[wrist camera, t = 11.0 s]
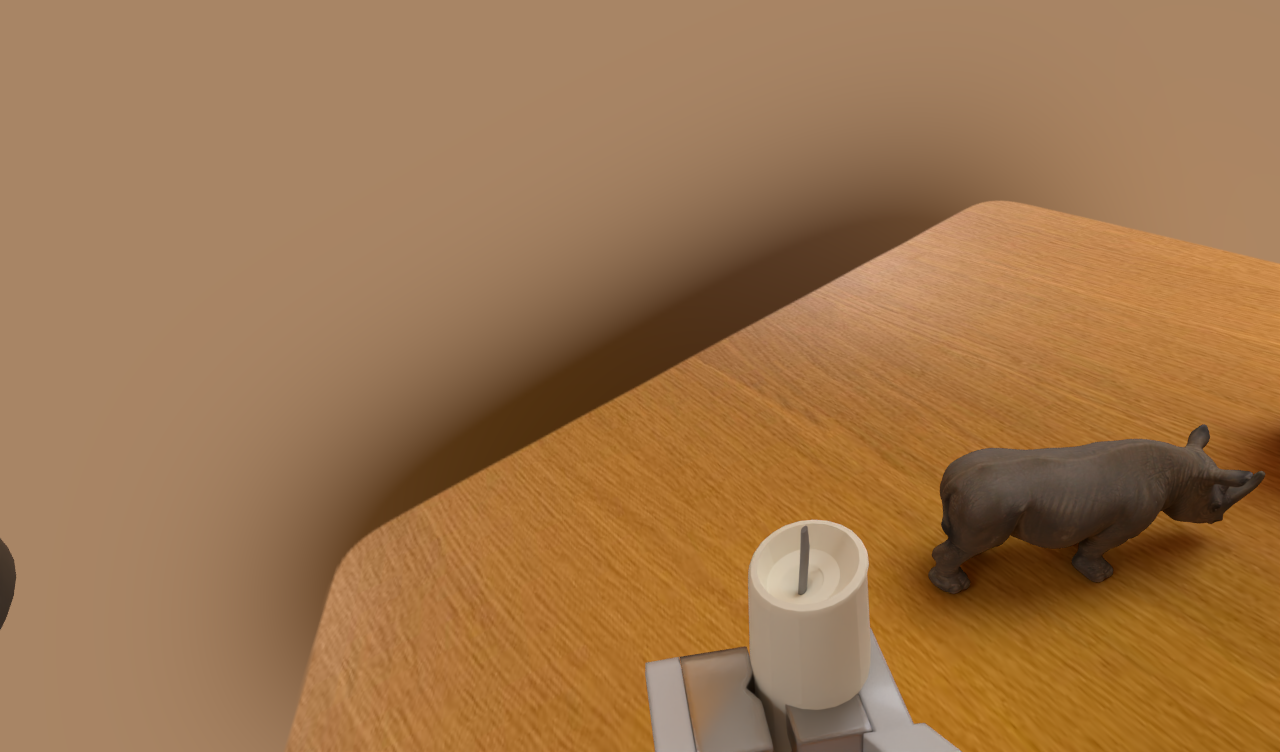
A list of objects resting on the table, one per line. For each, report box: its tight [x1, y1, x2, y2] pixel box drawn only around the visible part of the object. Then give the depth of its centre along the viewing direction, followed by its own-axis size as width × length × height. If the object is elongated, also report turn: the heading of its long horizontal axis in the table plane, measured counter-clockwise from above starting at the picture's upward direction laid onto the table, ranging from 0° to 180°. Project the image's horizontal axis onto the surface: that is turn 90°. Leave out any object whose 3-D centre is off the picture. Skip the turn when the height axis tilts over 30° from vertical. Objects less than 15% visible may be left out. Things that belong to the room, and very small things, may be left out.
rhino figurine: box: [928, 425, 1265, 594], centre depth 32 cm, size 4×14×6 cm, turn 92°
